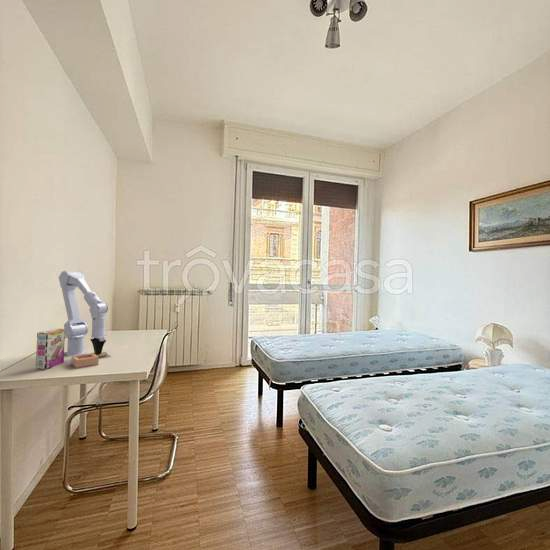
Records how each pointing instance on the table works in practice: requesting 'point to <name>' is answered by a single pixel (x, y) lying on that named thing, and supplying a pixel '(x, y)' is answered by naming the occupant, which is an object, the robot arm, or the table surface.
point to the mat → (105, 356)
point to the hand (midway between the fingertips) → (97, 352)
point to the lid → (101, 354)
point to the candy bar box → (50, 348)
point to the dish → (85, 360)
